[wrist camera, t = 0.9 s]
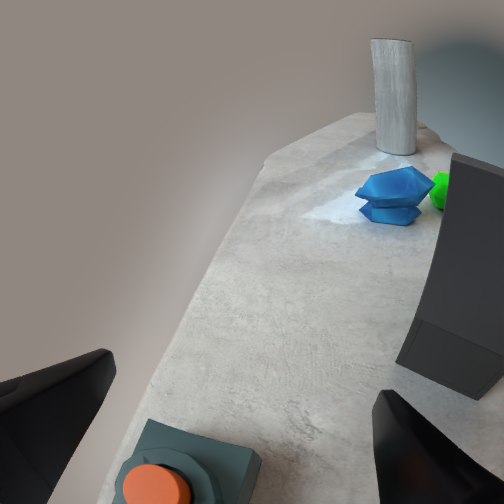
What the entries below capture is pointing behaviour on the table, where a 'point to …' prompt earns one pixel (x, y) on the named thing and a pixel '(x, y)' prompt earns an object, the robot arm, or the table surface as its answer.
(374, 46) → the grey fabric cylinder
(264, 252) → the table surface
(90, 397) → the robot arm
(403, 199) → the crystal
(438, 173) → the apple
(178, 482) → the button
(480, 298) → the lid
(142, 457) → the control block
